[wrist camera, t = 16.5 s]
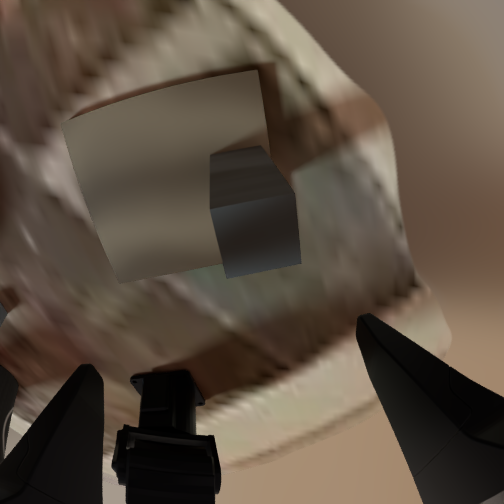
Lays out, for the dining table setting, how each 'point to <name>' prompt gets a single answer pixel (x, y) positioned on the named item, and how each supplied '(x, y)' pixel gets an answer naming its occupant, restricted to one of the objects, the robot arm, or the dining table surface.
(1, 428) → the coffee cup
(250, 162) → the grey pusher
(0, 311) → the slate frame
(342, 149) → the dining table surface
